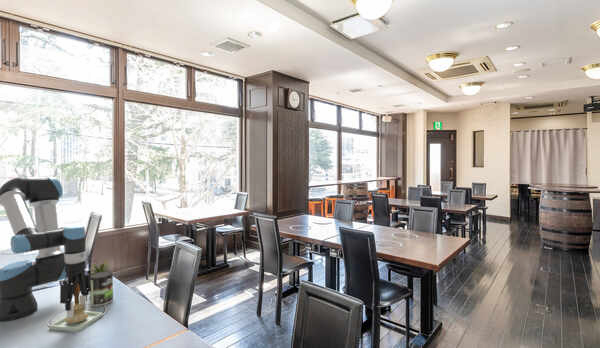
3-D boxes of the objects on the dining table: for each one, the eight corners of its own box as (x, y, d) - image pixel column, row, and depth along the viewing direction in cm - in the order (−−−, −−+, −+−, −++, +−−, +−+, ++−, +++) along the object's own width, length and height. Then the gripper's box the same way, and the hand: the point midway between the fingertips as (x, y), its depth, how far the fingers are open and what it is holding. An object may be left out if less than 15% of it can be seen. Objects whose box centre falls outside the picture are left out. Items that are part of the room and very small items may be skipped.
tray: (49, 329, 129) (48, 325, 129) (77, 314, 142) (77, 310, 142) (76, 332, 126) (76, 328, 126) (103, 316, 140) (102, 312, 140)
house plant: (90, 286, 173) (89, 258, 173) (117, 283, 178) (116, 256, 177) (80, 297, 160) (79, 266, 159) (110, 293, 164) (109, 264, 163)
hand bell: (93, 315, 137) (92, 280, 136) (75, 324, 129) (73, 287, 128) (78, 312, 139) (78, 278, 139) (60, 321, 131) (59, 285, 131)
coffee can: (118, 298, 159) (117, 271, 158) (101, 307, 149) (100, 278, 148) (101, 296, 161) (100, 270, 160) (84, 305, 151) (83, 277, 150)
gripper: (62, 269, 123) (64, 325, 124) (100, 255, 142) (101, 304, 143) (47, 268, 125) (48, 323, 125) (86, 254, 143) (87, 302, 144)
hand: (76, 313), depth 134 cm, fingers closed on hand bell, 6 cm apart
